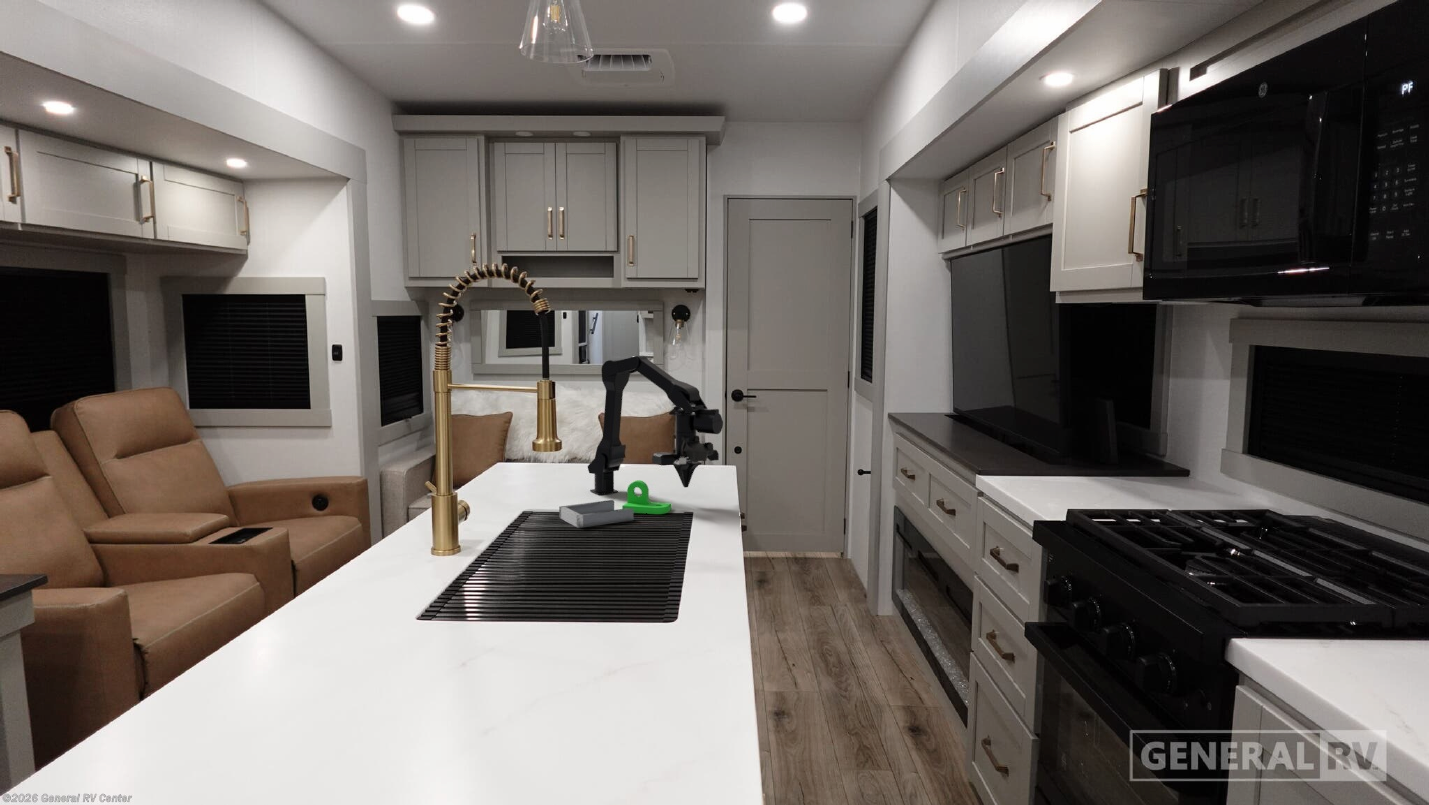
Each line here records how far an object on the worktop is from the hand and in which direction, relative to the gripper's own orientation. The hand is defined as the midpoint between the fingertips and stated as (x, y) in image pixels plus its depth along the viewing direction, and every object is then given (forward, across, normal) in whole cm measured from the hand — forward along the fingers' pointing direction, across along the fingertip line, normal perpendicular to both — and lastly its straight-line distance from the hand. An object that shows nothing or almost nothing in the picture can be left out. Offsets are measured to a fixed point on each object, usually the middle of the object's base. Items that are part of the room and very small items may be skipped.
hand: (685, 487), depth 208 cm
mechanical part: (+6, -12, +1) cm, 13 cm away
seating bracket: (+6, -27, 0) cm, 27 cm away
